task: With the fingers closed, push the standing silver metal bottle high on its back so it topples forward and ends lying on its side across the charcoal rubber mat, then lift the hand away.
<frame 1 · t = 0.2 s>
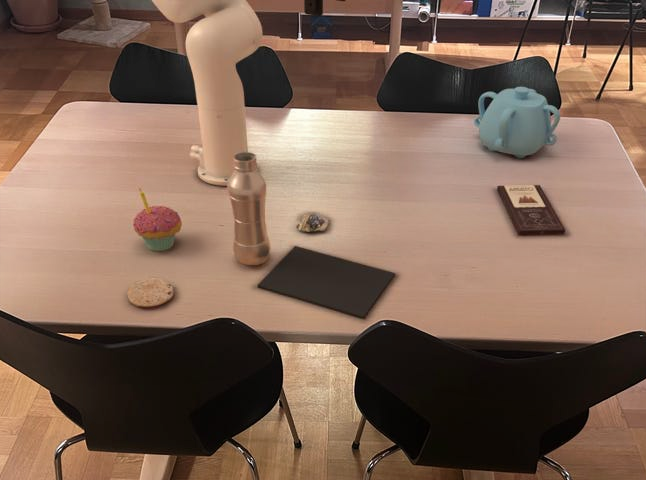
hand: (326, 7, 124), 37 cm above the table, tool pointing down, fingers open, 9 cm apart
mat: (327, 281, 126), on the table
flatbread: (151, 295, 122), on the table
decorative pot: (511, 147, 168), on the table
cupcake: (161, 244, 134), on the table
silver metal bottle: (252, 260, 131), on the table
chocolate bar: (529, 211, 145), on the table
mineral rock: (311, 225, 140), on the table
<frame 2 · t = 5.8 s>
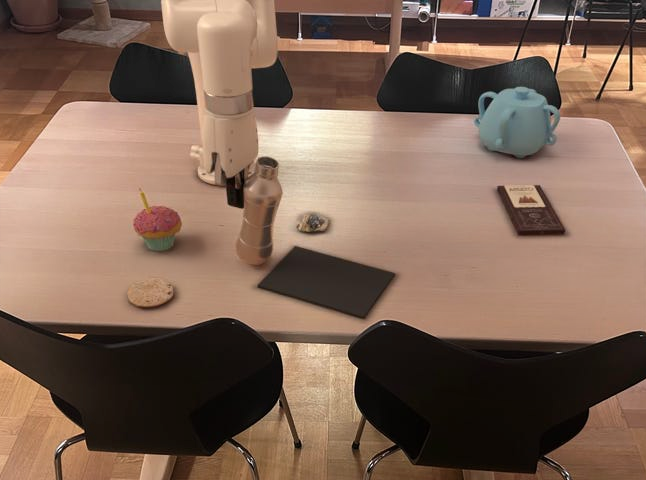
hand: (238, 205, 124), 11 cm above the table, tool pointing down, fingers closed
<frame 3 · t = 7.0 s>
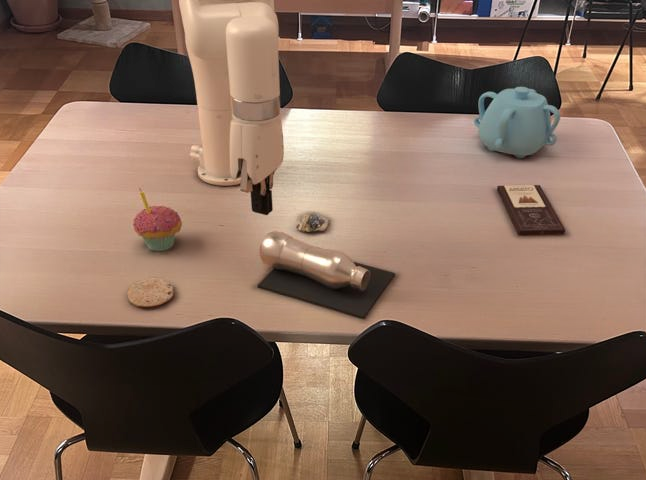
hand: (262, 211, 123), 11 cm above the table, tool pointing down, fingers closed
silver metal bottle: (264, 245, 127), point 4 cm above the table, touching mat
everything else where it was.
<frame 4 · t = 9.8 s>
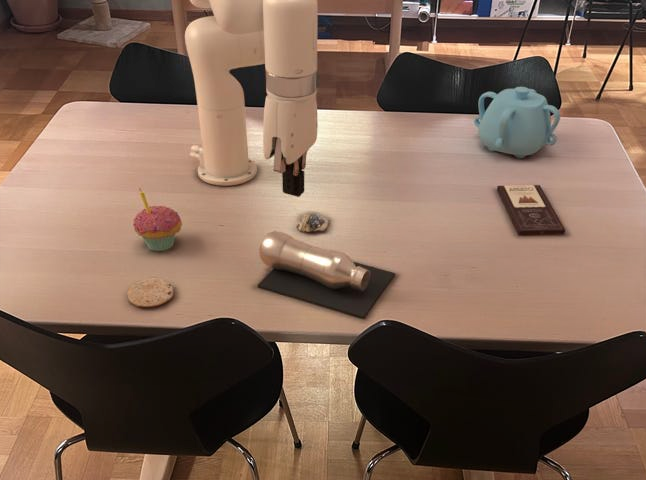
hand: (293, 192, 118), 15 cm above the table, tool pointing down, fingers closed
nothing on the table moved.
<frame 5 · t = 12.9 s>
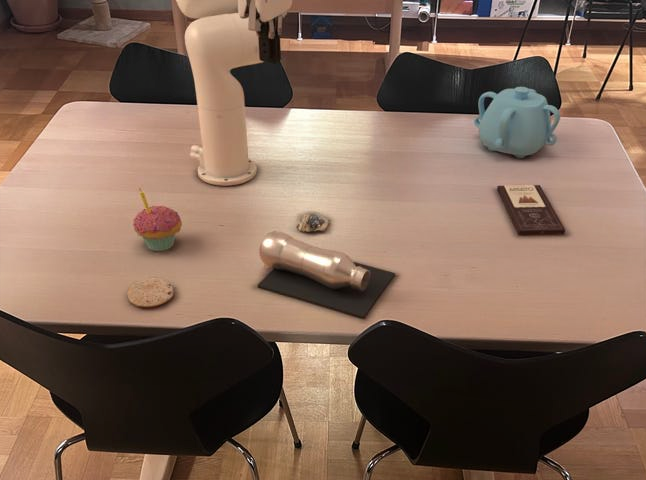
hand: (270, 60, 119), 31 cm above the table, tool pointing down, fingers closed
nothing on the table moved.
at the end: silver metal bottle tilted 91°; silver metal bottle touching mat; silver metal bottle inside the target area (3.8 cm from its centre), point 3.9 cm above the table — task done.
